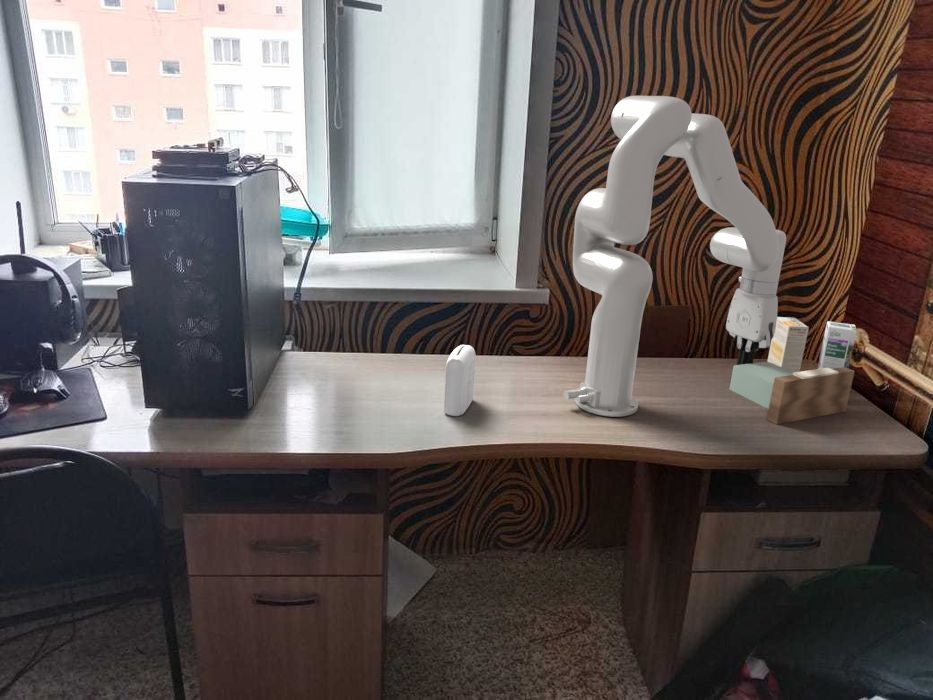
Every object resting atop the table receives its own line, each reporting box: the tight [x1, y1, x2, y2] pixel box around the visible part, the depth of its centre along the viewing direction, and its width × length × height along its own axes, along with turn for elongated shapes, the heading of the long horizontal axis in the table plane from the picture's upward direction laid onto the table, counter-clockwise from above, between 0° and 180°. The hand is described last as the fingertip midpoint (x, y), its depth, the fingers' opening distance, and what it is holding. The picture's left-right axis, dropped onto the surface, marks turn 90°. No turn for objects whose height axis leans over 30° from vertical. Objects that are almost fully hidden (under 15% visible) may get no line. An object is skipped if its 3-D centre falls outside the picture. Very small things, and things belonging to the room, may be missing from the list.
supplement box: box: [767, 316, 810, 373], centre depth 173 cm, size 8×5×13 cm, turn 179°
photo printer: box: [443, 344, 477, 417], centre depth 145 cm, size 10×4×12 cm, turn 166°
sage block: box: [729, 360, 794, 409], centre depth 160 cm, size 10×12×6 cm
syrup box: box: [816, 320, 857, 369], centre depth 168 cm, size 6×6×14 cm
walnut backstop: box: [766, 367, 855, 425], centre depth 151 cm, size 20×3×9 cm, turn 116°
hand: (744, 366), depth 166 cm, fingers closed
